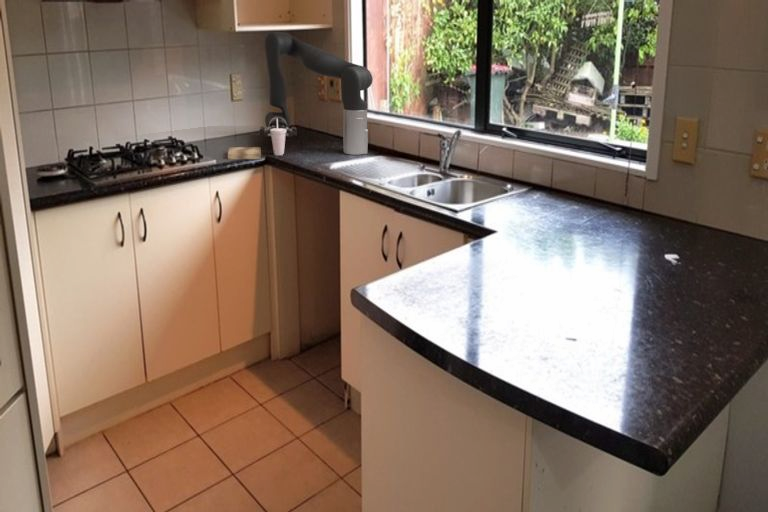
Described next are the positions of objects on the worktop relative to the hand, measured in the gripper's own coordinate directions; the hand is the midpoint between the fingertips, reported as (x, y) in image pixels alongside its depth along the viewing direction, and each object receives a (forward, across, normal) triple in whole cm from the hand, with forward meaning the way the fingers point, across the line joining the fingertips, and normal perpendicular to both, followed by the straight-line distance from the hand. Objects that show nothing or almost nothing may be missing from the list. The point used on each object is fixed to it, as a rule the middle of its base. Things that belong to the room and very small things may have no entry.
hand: (278, 134), depth 273 cm
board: (0, -13, +8) cm, 15 cm away
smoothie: (-2, 0, +8) cm, 8 cm away
